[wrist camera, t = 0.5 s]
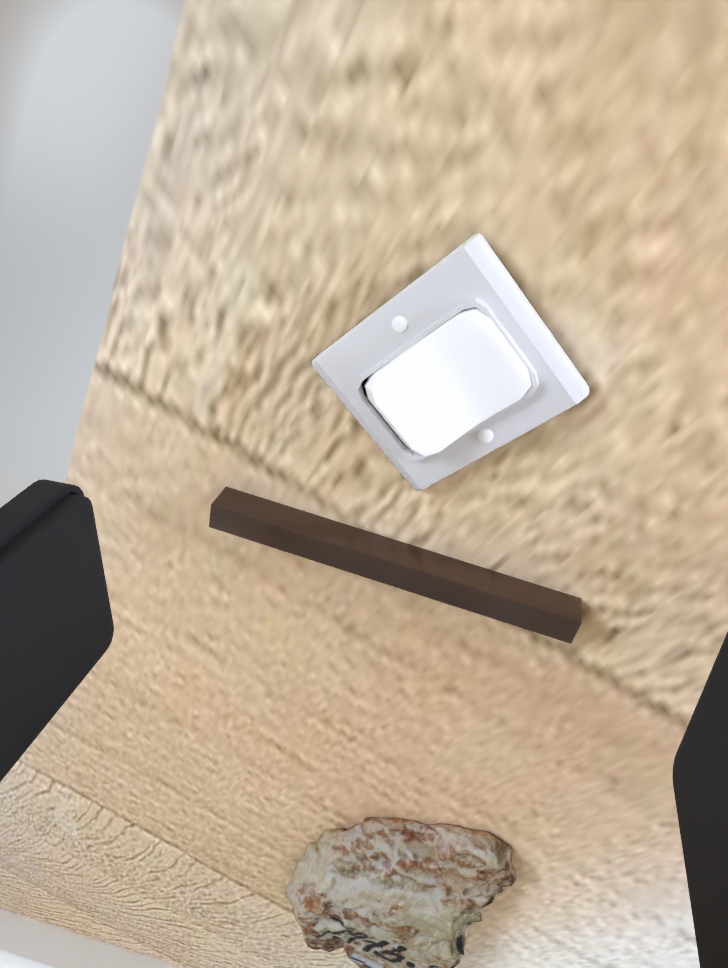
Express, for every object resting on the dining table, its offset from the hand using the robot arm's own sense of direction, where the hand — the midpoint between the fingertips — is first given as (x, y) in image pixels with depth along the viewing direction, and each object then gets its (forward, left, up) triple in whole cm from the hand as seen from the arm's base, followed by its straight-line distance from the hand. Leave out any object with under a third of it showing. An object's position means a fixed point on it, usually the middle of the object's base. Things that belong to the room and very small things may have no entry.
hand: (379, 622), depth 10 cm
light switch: (+9, -1, -32) cm, 33 cm away
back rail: (+23, -1, -32) cm, 39 cm away
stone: (+61, +8, -32) cm, 69 cm away
